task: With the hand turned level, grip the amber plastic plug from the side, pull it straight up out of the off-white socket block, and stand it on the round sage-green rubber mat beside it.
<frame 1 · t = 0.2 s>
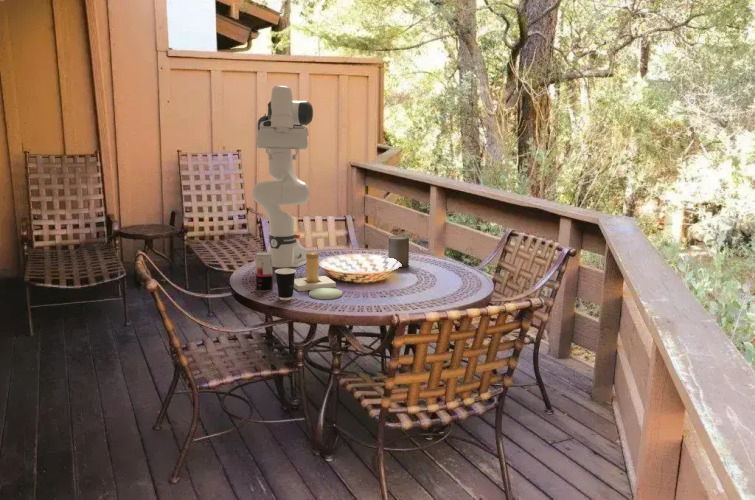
hand: (282, 159, 265), 52 cm above the table, tool tilted 20°, fingers open, 8 cm apart
mat: (325, 294, 263), on the table
socket block: (312, 285, 276), on the table
plug: (312, 269, 275), in the socket block
pillar candle: (398, 265, 314), on the table
dixie cup: (285, 299, 257), on the table
beverage can: (264, 290, 269), on the table
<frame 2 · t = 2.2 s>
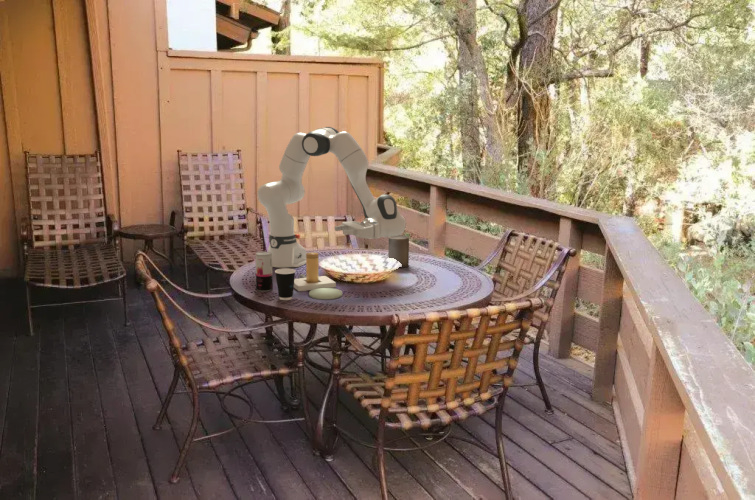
hand: (339, 230, 277), 22 cm above the table, tool horizontal, fingers open, 8 cm apart
nothing on the table moved.
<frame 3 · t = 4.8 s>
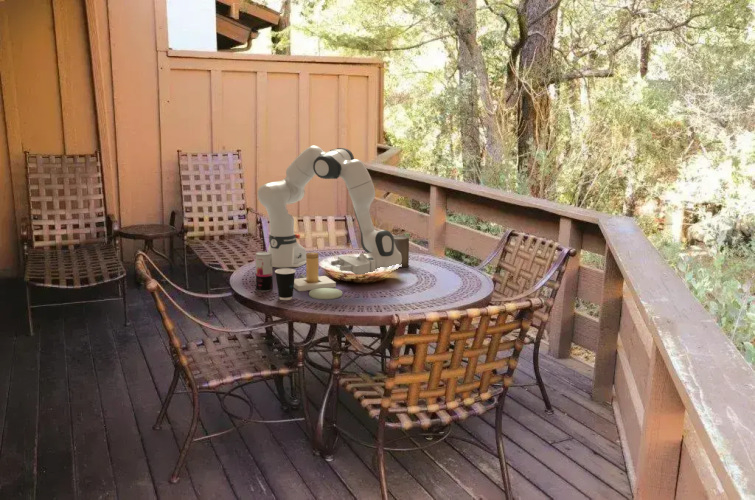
hand: (335, 265, 279), 7 cm above the table, tool horizontal, fingers open, 8 cm apart
nothing on the table moved.
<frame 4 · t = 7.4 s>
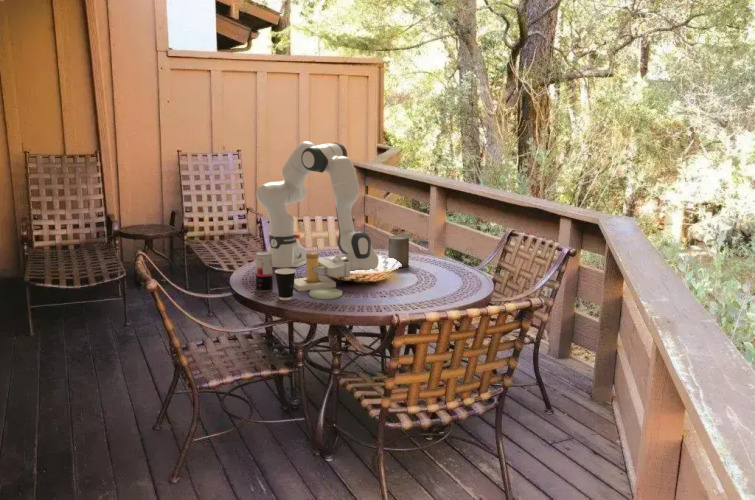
hand: (310, 268, 275), 8 cm above the table, tool horizontal, fingers closed on plug, 5 cm apart
plug: (312, 269, 275), in the socket block, touching gripper
everything else where it was.
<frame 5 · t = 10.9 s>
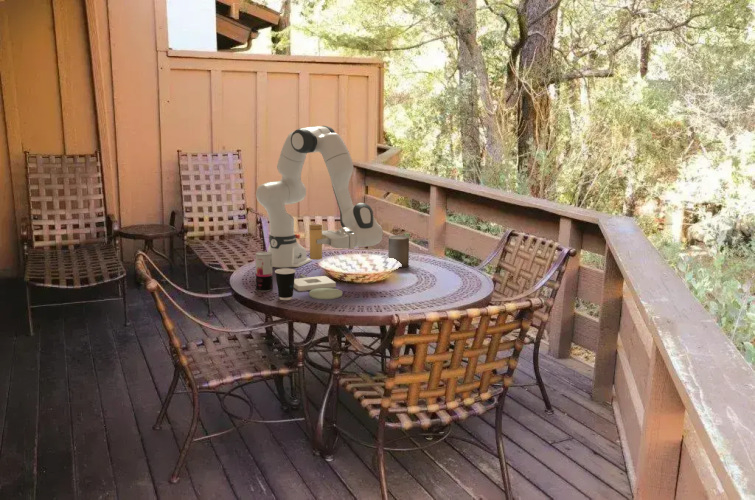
hand: (313, 240, 269), 20 cm above the table, tool horizontal, fingers closed on plug, 5 cm apart
plug: (315, 241, 269), point 19 cm above the table, touching gripper
everything else where it was.
when the fingers open (10 cm above the table, at t = 14.2 s): plug drops 1 cm, resting on mat.
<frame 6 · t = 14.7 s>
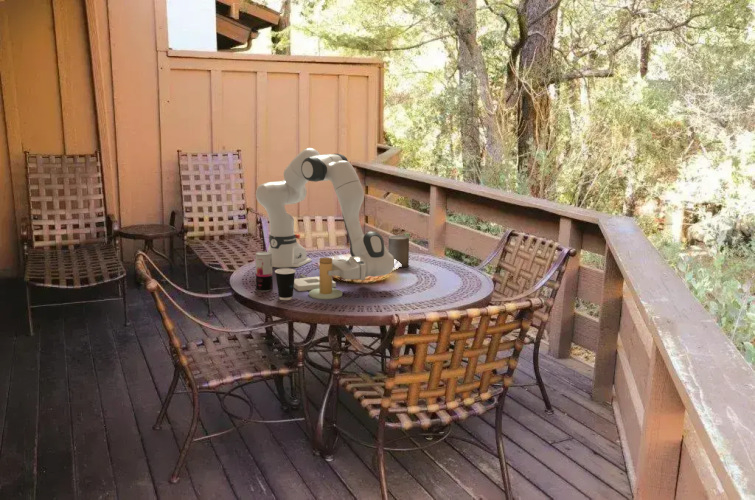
hand: (323, 270, 261), 10 cm above the table, tool horizontal, fingers open, 8 cm apart
plug: (325, 275, 262), on the mat, point 8 cm above the table
everything else where it was.
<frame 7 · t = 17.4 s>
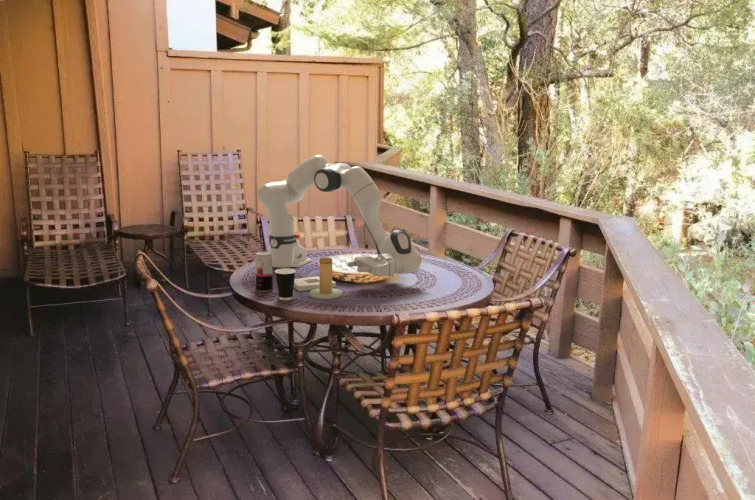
hand: (353, 267, 266), 10 cm above the table, tool horizontal, fingers open, 8 cm apart
nothing on the table moved.
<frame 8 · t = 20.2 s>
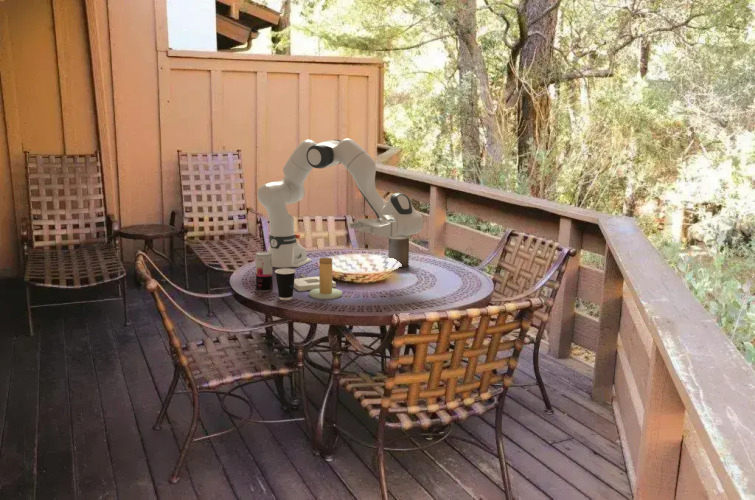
hand: (354, 227, 263), 26 cm above the table, tool horizontal, fingers open, 8 cm apart
nothing on the table moved.
at the end: plug inside the target area on the mat (0.0 cm from its centre), point 7.8 cm above the mat's base; plug tilted 0°; the gripper is holding nothing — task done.
